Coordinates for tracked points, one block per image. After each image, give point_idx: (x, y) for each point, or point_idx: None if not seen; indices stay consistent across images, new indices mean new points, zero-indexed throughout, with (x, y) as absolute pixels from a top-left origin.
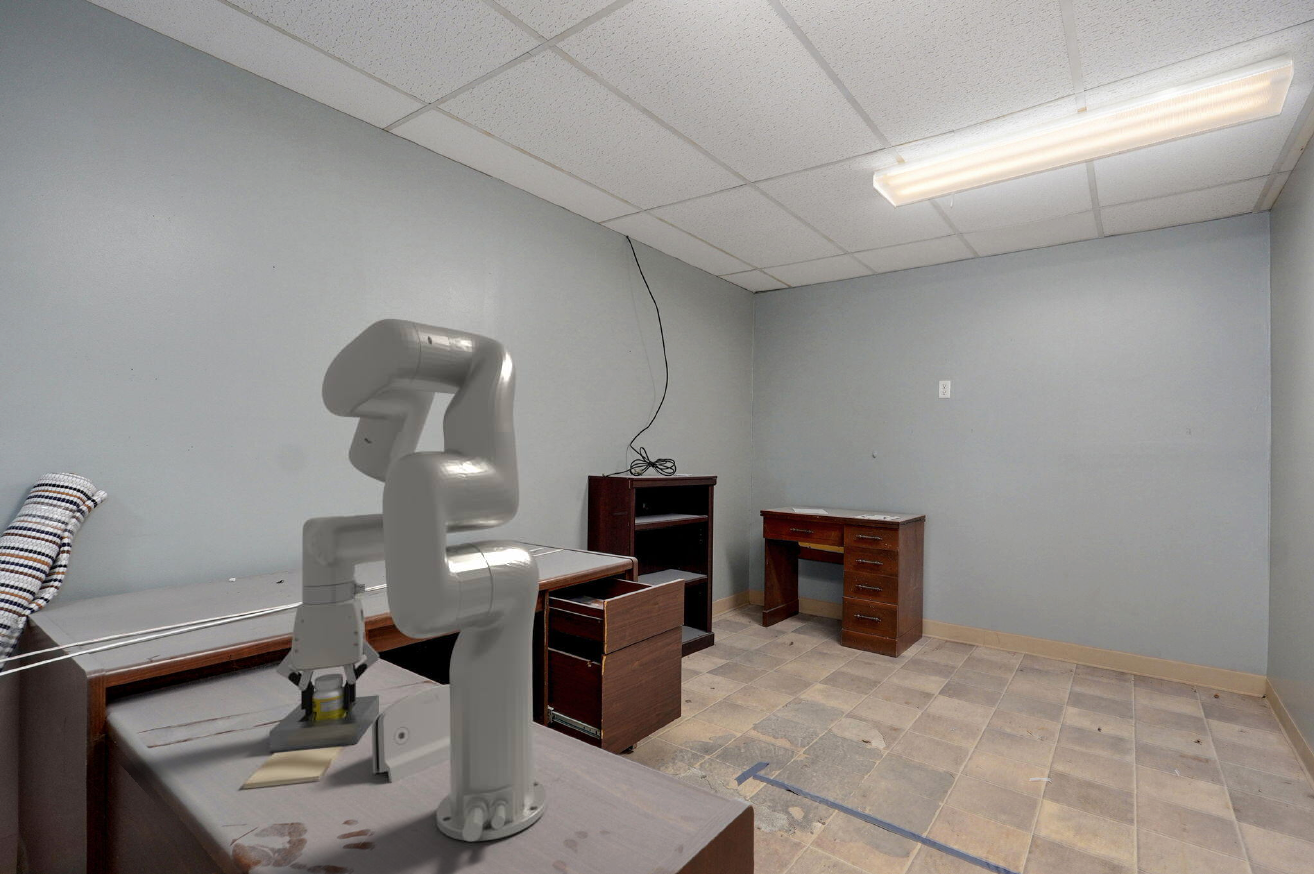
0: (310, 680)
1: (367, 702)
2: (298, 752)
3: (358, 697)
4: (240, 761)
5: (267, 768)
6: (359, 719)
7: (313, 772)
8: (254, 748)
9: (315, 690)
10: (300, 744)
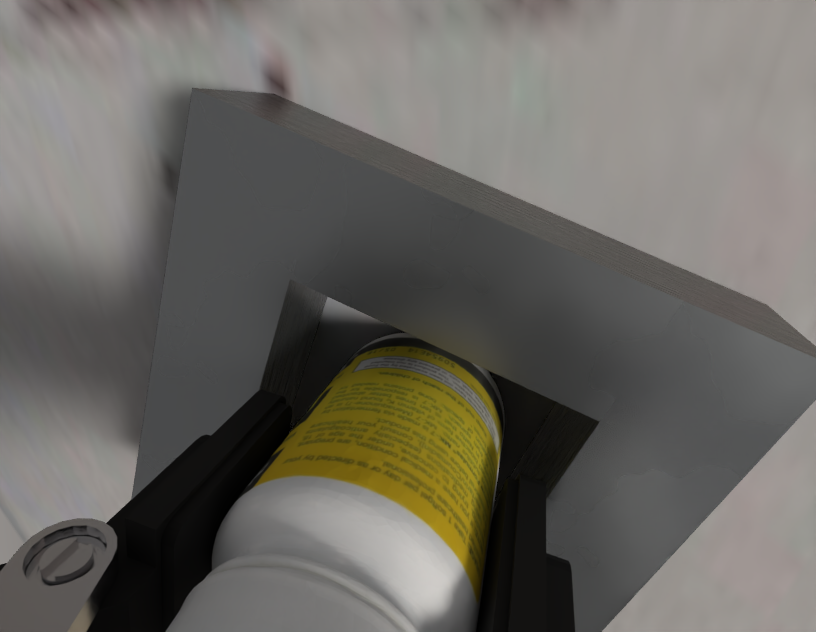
0: (98, 605)
1: (674, 477)
2: None
3: (648, 297)
4: (116, 461)
5: None
6: None
7: None
8: (127, 369)
9: (218, 553)
10: None
